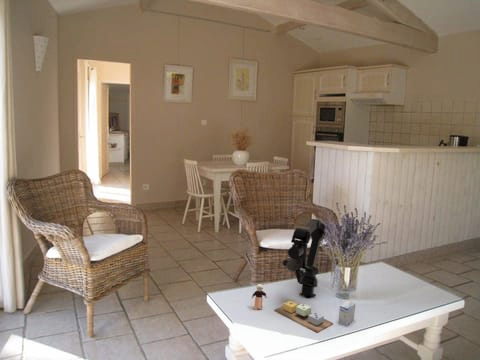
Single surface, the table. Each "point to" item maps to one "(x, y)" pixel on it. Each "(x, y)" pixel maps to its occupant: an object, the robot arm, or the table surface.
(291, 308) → the mustard tile
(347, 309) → the medicine box
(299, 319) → the button board
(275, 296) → the table surface
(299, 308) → the sage tile
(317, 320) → the slate tile
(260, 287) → the grandmother figurine
